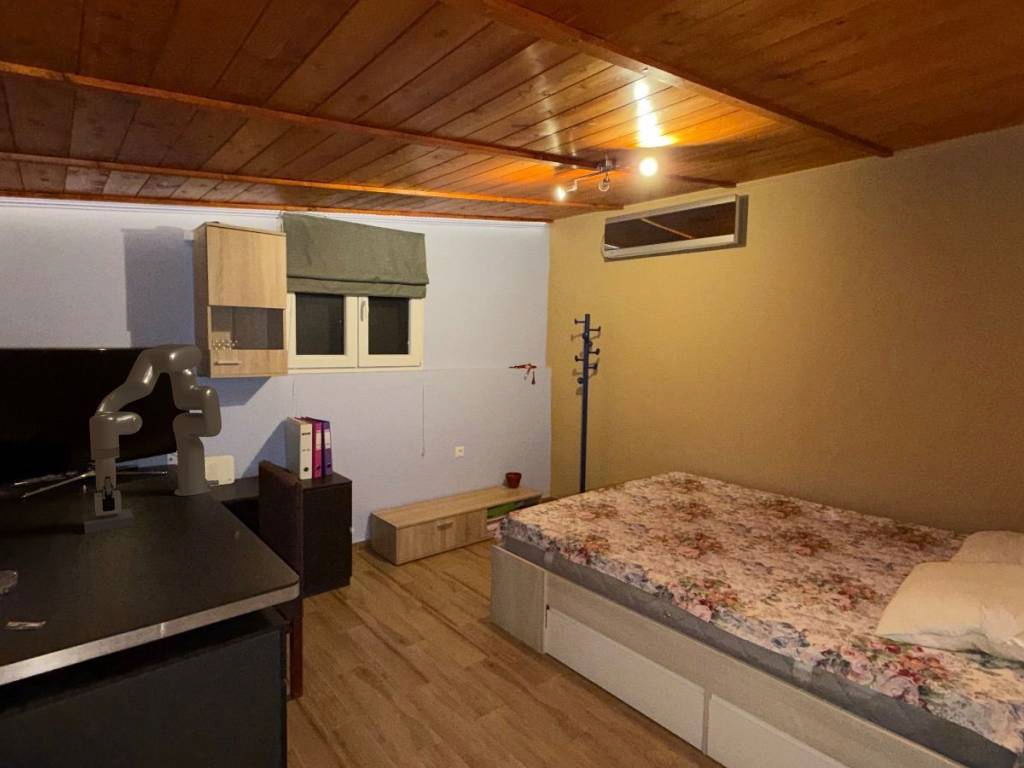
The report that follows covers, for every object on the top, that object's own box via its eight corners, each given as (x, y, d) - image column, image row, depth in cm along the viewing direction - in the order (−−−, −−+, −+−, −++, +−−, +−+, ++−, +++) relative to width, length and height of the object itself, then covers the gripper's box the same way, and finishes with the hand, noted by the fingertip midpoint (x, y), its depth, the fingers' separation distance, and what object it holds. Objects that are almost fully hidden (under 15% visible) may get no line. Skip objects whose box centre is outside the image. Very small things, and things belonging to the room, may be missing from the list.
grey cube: (120, 508, 201) (119, 490, 200) (121, 512, 195) (120, 494, 195) (95, 511, 197) (94, 493, 196) (96, 516, 191) (95, 497, 191)
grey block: (130, 517, 205) (129, 496, 205) (134, 526, 195) (133, 504, 194) (83, 524, 197) (82, 502, 197) (85, 533, 187) (83, 511, 186)
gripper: (90, 451, 199) (92, 504, 200) (92, 458, 185) (95, 516, 187) (117, 448, 204) (119, 501, 205) (121, 456, 190) (124, 512, 191)
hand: (108, 507), depth 196 cm, fingers closed on grey cube, 6 cm apart
